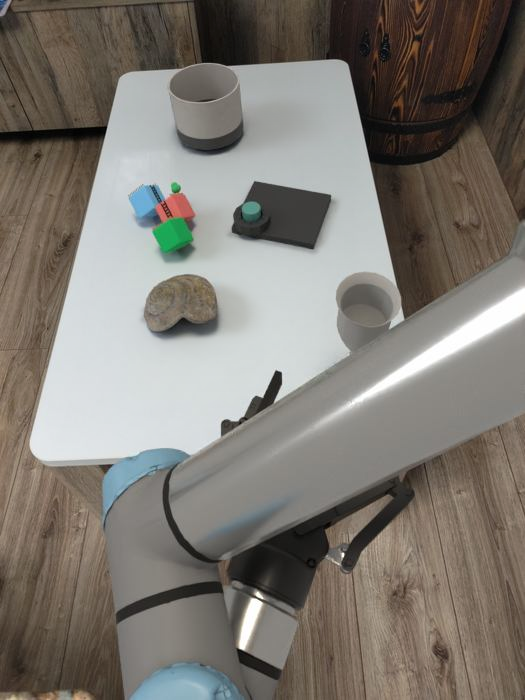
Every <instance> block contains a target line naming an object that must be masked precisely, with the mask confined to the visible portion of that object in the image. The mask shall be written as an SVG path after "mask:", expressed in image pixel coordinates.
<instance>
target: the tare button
mask: <svg viewBox="0 0 525 700" xmlns="http://www.w3.org/2000/svg"><path fill="white" fill-rule="evenodd" d="M242 216H243V219H244V220H245V221H247V222H255V221H258V220H259V219H260V217H261V209H260V205H259V204H258V203H256V202H247V203H245V204H244V205H243V206H242Z"/></svg>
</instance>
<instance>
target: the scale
mask: <svg viewBox="0 0 525 700" xmlns="http://www.w3.org/2000/svg"><path fill="white" fill-rule="evenodd" d="M331 201H332V194H328V193H324V192H323V193H322V192H317V191H312V190H308V189H302V188H295V187H291V186H290V187H289V186H285V185H278V184H274V183H267V182H263V181H258V180H254V181H253V182H252V185H251V187H250V189H249V191H248V193H247V195H246V196H245V199H244V201H243V203H242V204H240V205H238V206H237V207H236V208H235V210H234V212H233V213H232V218H233V223H232V225H231V233H232V234H236V235H242V236H247V237H252V238H257V239H261V240H267V241H271V242H276V243H282V244H287V245H291V246H295V247H301V248H305V249H309V250H310V249H311V250H314V248H315V245H316V243H317V240H318V238H319V234H320V231H321V229H322V226H323V223H324V220H325V219H326V216H327V212H328V209H329V207H330V204H331ZM247 202H256V203H258V204H259V205H260V209H261V217H260V219H259V220H258V221H255V222H247V221H245V220H244V219H243V216H242V206H243V205H244V204H245V203H247Z"/></svg>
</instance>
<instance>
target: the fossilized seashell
mask: <svg viewBox="0 0 525 700" xmlns="http://www.w3.org/2000/svg"><path fill="white" fill-rule="evenodd" d="M217 316H218V299H217V292H216V290H215V288H214V286H213V284H211V282H210V281H209V280H208V279H207V278H205V277H204V276H201V275H198V274H193V273H185V274H176V275H174V276H172V277H170V278H167V279H166V280H162V281H161V282H159V283H157V285H155V286H153V288H152V289H151V290H150V291H149V293H148V295H147V297H146V298H145V304H144V311H143V317H144V318H145V322H146V326H147V327H148V328H149V330H151V331H153V332H157V333H158V332H159V333H160V332H164V331H168V330H169V329H171V328H172V327H174V326H175V325H176V324H177V323H179V322H180V320H181V319H183V318H184V319H186V321H188V322H190V323H192V324H199V325H200V324H207V323H209V322H213V320H215V319H216V318H217Z"/></svg>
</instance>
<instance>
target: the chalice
mask: <svg viewBox="0 0 525 700" xmlns="http://www.w3.org/2000/svg"><path fill="white" fill-rule="evenodd" d="M335 292H336V293H335V301H336V305H337V308H338V309H337V316H336V329H337V332H338V334H339V337H340V340H341V341H342V343H343V345H344V346H345V347H346V348H347V349H348V350H349V355H350V354H352V353H353V352H355V351H356V350H358V349H359V348H361V347H363V346H364V345H366V344H367V343H369V342H370V341H372V340H374V339H375V338H377V337H378V336H380V335H381V334H383V333H384V332H386V331H388V330H389V329H390V328H391V323H392V321H393V320H394V319H395V318H396V317H397V316H398V315H399V314H400V313H399V312H400V310H401V307H402V296H401V293H400V290H399V288H398V287H397V286H396V285H395V284H394V282H393V281H392V280H390V279H389V278H388V277H386V276H384V275H383V274H379V273H377V272H373V271H359V272H353V273H352V274H349V275H347V276H346V277H345V278H344V279H342V280H341V282H340V283H339V284H338V287H337V289H336V291H335ZM349 355H348V356H349Z"/></svg>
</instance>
